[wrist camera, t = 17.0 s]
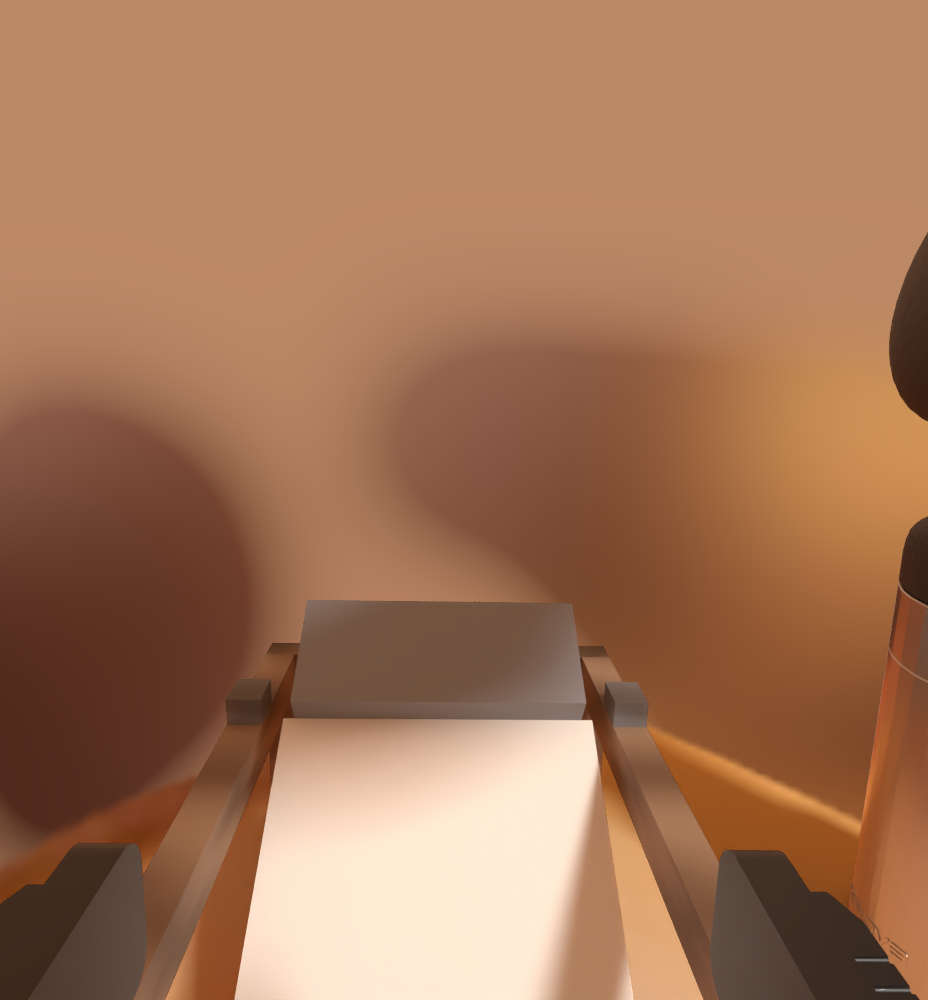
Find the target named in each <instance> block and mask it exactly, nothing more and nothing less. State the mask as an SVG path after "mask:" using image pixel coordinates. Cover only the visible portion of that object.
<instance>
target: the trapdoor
mask: <svg viewBox="0 0 928 1000" xmlns="http://www.w3.org/2000/svg"><path fill="white" fill-rule="evenodd" d="M290 702H291V706H292V710H293V714H294V718H283V723H282V729H281V735H280V740H279V746H278V752H277V758H276V763H275V769H274V775H273V781H272V786H271V792H270V798H269V804H268V809H267V815H266V821H265V827H264V832H263V838H262V844H261V850H260V855H259V861H258V867H257V872H256V878H255V884H254V890H253V895H252V901H251V907H250V913H249V918H248V924H247V930H246V936H245V941H244V947H243V953H242V959H241V964H240V970H239V976H238V982H237V987H236V993H235V999H234V1000H634V999H633V992H632V985H631V978H630V972H629V965H628V958H627V952H626V945H625V938H624V931H623V925H622V918H621V911H620V904H619V898H618V891H617V884H616V877H615V871H614V864H613V857H612V850H611V844H610V837H609V830H608V824H607V817H606V810H605V803H604V797H603V790H602V783H601V776H600V770H599V763H598V756H597V749H596V743H595V736H594V729H593V722H592V720H582V716H583V713H584V710H585V706H586V697H585V690H584V683H583V677H582V670H581V663H580V656H579V649H578V642H577V636H576V628H575V622H574V615H573V608H572V603H508V602H427V601H426V602H425V601H424V602H421V601H345V600H308V601H307V606H306V612H305V618H304V623H303V629H302V636H301V641H300V647H299V653H298V659H297V665H296V671H295V676H294V682H293V688H292V694H291V700H290Z"/></svg>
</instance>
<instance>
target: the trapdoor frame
mask: <svg viewBox="0 0 928 1000" xmlns="http://www.w3.org/2000/svg"><path fill="white" fill-rule="evenodd" d="M299 647H300V643H272V645H271V647H270V648H269V650H268V652H267V654H266V656H265V657H264V659H263V661H262V663H261V665H260V667H259V668H258V670H257V672H256V674H255V676H254V677H253V679H238V680H237V682H236V683H235V685H234V687H233V688H232V690H231V692H230V693H229V695H228V697H227V698H226V709H227V711H226V712H227V726H226V727H225V729H224V731H223V733H222V735H221V737H220V738H219V740H218V742H217V744H216V745H215V747H214V749H213V751H212V753H211V755H210V756H209V758H208V760H207V762H206V763H205V765H204V767H203V769H202V770H201V772H200V774H199V776H198V778H197V779H196V781H195V783H194V785H193V787H192V788H191V790H190V792H189V794H188V796H187V797H186V799H185V801H184V803H183V805H182V806H181V808H180V810H179V812H178V814H177V815H176V817H175V819H174V821H173V823H172V824H171V826H170V828H169V830H168V832H167V833H166V835H165V837H164V839H163V840H162V842H161V844H160V846H159V848H158V849H157V851H156V853H155V855H154V857H153V858H152V860H151V862H150V864H149V866H148V867H147V869H146V871H145V873H144V875H143V890H144V904H145V918H146V932H147V951H146V959H145V965H144V970H143V974H142V978H141V981H140V984H139V987H138V990H137V993H136V995H135V997H134V999H133V1000H165V999H166V997H167V994H168V992H169V990H170V987H171V985H172V982H173V980H174V978H175V975H176V973H177V970H178V968H179V966H180V963H181V961H182V958H183V956H184V954H185V951H186V949H187V947H188V944H189V942H190V939H191V937H192V935H193V932H194V930H195V927H196V925H197V923H198V920H199V918H200V915H201V913H202V911H203V908H204V906H205V903H206V901H207V899H208V896H209V894H210V891H211V889H212V887H213V884H214V882H215V880H216V877H217V875H218V872H219V870H220V868H221V865H222V863H223V860H224V858H225V856H226V853H227V851H228V848H229V846H230V844H231V841H232V839H233V836H234V834H235V832H236V829H237V827H238V824H239V822H240V820H241V817H242V815H243V813H244V810H245V808H246V805H247V803H248V801H249V798H250V796H251V793H252V791H253V789H254V786H255V784H256V781H257V779H258V777H259V774H260V772H261V769H262V767H263V765H264V762H265V760H266V757H267V755H268V753H269V750H270V779H271V786H272V781H273V775H274V769H275V763H276V758H277V752H278V746H279V740H280V735H281V729H282V723H283V718H294V714H293V710H292V706H291V702H290V700H291V694H292V688H293V682H294V676H295V671H296V665H297V659H298V653H299ZM578 649H579V656H580V663H581V670H582V677H583V683H584V690H585V697H586V706H585V710H584V713H583V716H582V720H592V722H593V729H594V736H595V743H596V749H597V756H598V763H599V770H600V776H601V766H602V752H603V750H604V753H605V755H606V758H607V760H608V763H609V765H610V768H611V770H612V773H613V775H614V778H615V780H616V782H617V785H618V787H619V790H620V792H621V795H622V797H623V800H624V802H625V805H626V807H627V810H628V812H629V815H630V817H631V820H632V822H633V825H634V827H635V830H636V832H637V835H638V837H639V840H640V842H641V845H642V847H643V850H644V852H645V855H646V857H647V860H648V862H649V865H650V867H651V870H652V872H653V875H654V877H655V880H656V882H657V885H658V887H659V890H660V892H661V895H662V897H663V900H664V902H665V905H666V907H667V910H668V912H669V915H670V917H671V920H672V922H673V925H674V927H675V930H676V932H677V935H678V937H679V940H680V942H681V945H682V947H683V950H684V952H685V955H686V957H687V960H688V962H689V965H690V967H691V970H692V972H693V975H694V977H695V980H696V982H697V985H698V987H699V989H700V992H701V994H702V997H703V999H704V1000H719V998H718V995H717V992H716V988H715V984H714V980H713V974H712V968H711V958H710V943H711V933H712V924H713V915H714V906H715V897H716V888H717V878H718V869H719V861H718V859H717V858H716V856H715V854H714V852H713V850H712V848H711V846H710V844H709V843H708V841H707V839H706V837H705V835H704V833H703V831H702V830H701V828H700V826H699V824H698V822H697V820H696V818H695V817H694V815H693V813H692V811H691V809H690V807H689V805H688V803H687V802H686V800H685V798H684V796H683V794H682V792H681V790H680V789H679V787H678V785H677V783H676V781H675V779H674V777H673V776H672V774H671V772H670V770H669V768H668V766H667V764H666V763H665V761H664V759H663V757H662V755H661V753H660V751H659V749H658V748H657V746H656V744H655V742H654V740H653V738H652V736H651V735H650V733H649V731H648V729H647V715H648V701H647V699H646V697H645V696H644V694H643V692H642V690H641V689H640V688H639V685H638V683H637V682H622V681H621V679H620V677H619V675H618V673H617V671H616V670H615V667H614V666H613V664H612V662H611V661H610V658H609V656H608V654H607V653H606V651H605V649H604V647H603V646H578Z"/></svg>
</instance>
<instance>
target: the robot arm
mask: <svg viewBox="0 0 928 1000" xmlns="http://www.w3.org/2000/svg"><path fill="white" fill-rule="evenodd" d="M889 356H890V366H891V371H892V376H893V380H894V383H895V385H896V387H897V390H898V392H899V394H900V396H901V398H902V399H903V400H904V402H905V403H906V404H907V406H908V407H909V408H910V409H911V410H912V411H913V412H915V413H916V414H917V415H918V416H920V417H921V418H922V419H924V420H926V421H928V233H927V235H926V236H925V238H924V240H923V242H922V244H921V246H920V247H919V249H918V251H917V253H916V255H915V257H914V259H913V261H912V264H911V266H910V268H909V270H908V272H907V275H906V277H905V280H904V283H903V286H902V288H901V291H900V294H899V297H898V300H897V303H896V308H895V311H894V316H893V319H892V325H891V332H890V341H889ZM146 951H147V932H146V918H145V904H144V890H143V876H142V862H141V854H140V850H139V848H138V846H137V845H136V844H134V843H78V844H76V845H74V846H73V847H72V848H71V849H70V850H69V852H68V853H67V854H66V856H65V857H64V858H63V860H62V861H61V862H60V864H59V865H58V866H57V868H56V869H55V870H54V872H53V873H52V874H51V876H50V877H49V878H48V880H47V881H46V882H45V884H44V885H29V884H27V885H26V886H24V887H23V888H22V889H20V890H19V891H17V892H16V893H15V894H13V895H12V896H11V897H9V898H8V899H7V900H5V901H4V902H3V903H1V904H0V1000H133V999H134V997H135V995H136V993H137V990H138V987H139V984H140V981H141V978H142V974H143V970H144V965H145V959H146ZM710 958H711V968H712V974H713V980H714V984H715V988H716V992H717V995H718V998H719V1000H928V517H926V518H923V519H921V520H920V521H919V522H917V523H916V524H915V525H914V526H913V527H912V528H911V530H910V532H909V534H908V536H907V538H906V542H905V545H904V549H903V555H902V562H901V569H900V575H899V584H898V589H897V596H896V603H895V608H894V615H893V622H892V628H891V634H890V642H889V649H888V656H887V662H886V669H885V675H884V682H883V688H882V694H881V701H880V708H879V714H878V721H877V727H876V733H875V741H874V746H873V753H872V759H871V766H870V772H869V779H868V785H867V792H866V798H865V805H864V811H863V818H862V824H861V831H860V837H859V843H858V850H857V856H856V863H855V869H854V876H853V882H852V885H851V892H850V902H849V908H848V909H847V908H846V907H845V906H843V905H842V904H841V903H840V902H838V901H837V900H836V899H835V898H833V897H832V896H831V895H830V894H829V893H827V892H810V891H809V889H808V888H807V886H806V885H805V883H804V882H803V880H802V879H801V877H800V876H799V874H798V873H797V871H796V870H795V868H794V867H793V865H792V864H791V862H790V861H789V859H788V858H787V857H786V855H785V854H784V853H783V852H781V851H770V850H726V851H724V852H723V853H722V855H721V858H720V862H719V869H718V878H717V888H716V897H715V906H714V915H713V924H712V933H711V943H710Z"/></svg>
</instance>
